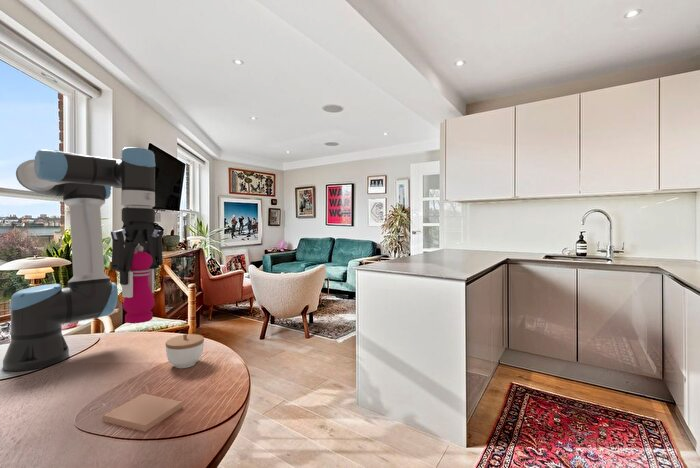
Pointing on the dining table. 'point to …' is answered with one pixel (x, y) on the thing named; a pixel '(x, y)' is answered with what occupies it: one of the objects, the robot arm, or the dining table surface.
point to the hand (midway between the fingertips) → (138, 294)
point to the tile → (142, 412)
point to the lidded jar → (184, 350)
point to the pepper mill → (140, 289)
